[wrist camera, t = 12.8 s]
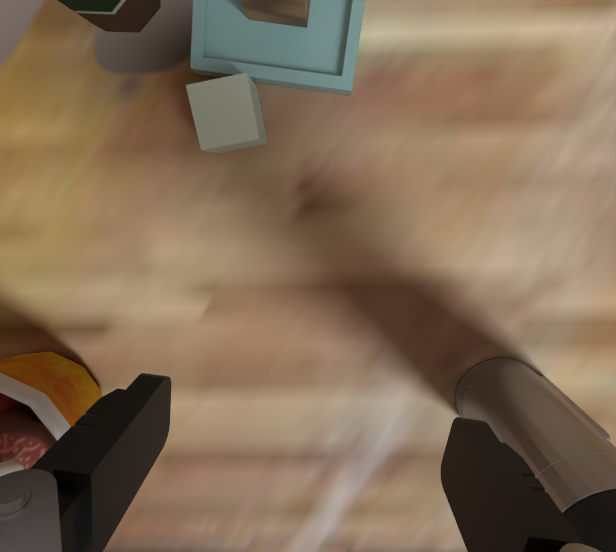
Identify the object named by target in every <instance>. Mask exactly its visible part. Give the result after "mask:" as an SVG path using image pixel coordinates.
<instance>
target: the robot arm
mask: <svg viewBox="0 0 616 552" xmlns="http://www.w3.org/2000/svg"><path fill="white" fill-rule="evenodd" d="M455 401H456V407H457V410H458V413H459V414H460V416H461V418H460V417H457V418H455V419H454V421H453V423H452V426H451V430H450V434H449V437H448V441H447V445H446V448H445V452H444V455H443V459H442V463H441V481H442V486H443V489H444V492H445V494H446V497H447V499H448V502H449V504H450V507H451V510H452V512H453V515H454V517H455V520H456V523H457V525H458V528H459V530H460V533H461V535H462V538H463V541H464V543H465V546H466V548H467V551H468V552H616V447H615V446H614V445H613V444H612V443H610V436H609V434H608V433H607V432H606V431H605V430H604V429H603V428H602V427H601V426H600V425H599V424H598V423H596V422H595V421H594V420H593V419H592V418H591V417H590V416H589V415H588V414H586V413H585V412H584V411H583V410H582V409H581V408H580V407H579V406H578V405H576V404H575V403H574V402H573V401H572V400H571V399H570V398H569V397H568V396H566V395H565V394H564V393H563V392H562V391H561V390H560V389H559V388H558V387H556V386H555V385H554V384H553V383H552V382H551V381H550V380H549V379H548V378H546V377H545V376H539V375H537V374H536V373H535V372H534V371H533V370H532V369H531V368H530V367H528V366H527V365H525V364H524V363H522V362H519V361H517V360H514V359H507V358H497V359H492V360H487V361H485V362H482V363H480V364H478V365H476V366H475V367H473V368H472V369H470V370H469V371H468V372H467V373H466V374H465V375H464V376H463V378H462V379H461V381H460V382H459V385H458V387H457V390H456V396H455ZM170 405H171V379H170V377H167V376H160V375H153V374H146V373H142V374H140V375H139V376H138V377H137V378H136V379H135V380H134V381H133V382H132V384H131V385H130V386H129V387H128V388H127V389H126V390H123V389H116V390H114V391H113V392H111V393H109V394H107V395H105V396H103V397H101V398H100V399H98V400H97V401H96V402H95V403H94V404H93V405H92V406H91V407H90V408H89V409H88V410H87V411H86V414H85V415H82V416H81V417H80V418H79V419H78V420H77V421H76V422H75V425H74V426H71V427H70V428H69V429H68V430H67V431H66V432H65V433H64V434H63V435H62V436H61V437H60V438H59V439H58V440H57V441H56V442H55V443H54V444H53V445H52V446H51V447H50V448H49V449H48V450H47V451H46V452H45V453H44V454H43V455H42V457H41V458H40V459H39V460H38V461H37V462H36V463H35V464H34V465H33V466H32V467H31V468H30V469H25V470H19V471H15V472H11V473H8V474H5V475H3V476H0V552H103V550H104V548H105V547H106V545H107V543H108V542H109V540H110V538H111V536H112V535H113V533H114V531H115V530H116V528H117V526H118V524H119V523H120V521H121V519H122V517H123V516H124V514H125V512H126V511H127V509H128V507H129V505H130V504H131V502H132V500H133V499H134V497H135V495H136V493H137V492H138V490H139V488H140V487H141V485H142V483H143V481H144V480H145V478H146V476H147V475H148V473H149V471H150V469H151V468H152V466H153V464H154V463H155V461H156V459H157V457H158V456H159V454H160V452H161V450H162V449H163V447H164V445H165V442H166V439H167V436H168V432H169V426H170Z"/></svg>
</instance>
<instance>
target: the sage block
mask: <svg viewBox="0 0 616 552" xmlns="http://www.w3.org/2000/svg"><path fill="white" fill-rule="evenodd" d="M186 89H187V93H188V97H189V101H190V106H191V110H192V114H193V118H194V123H195V127H196V131H197V136H198V140H199V144H200V148H201V150H203V151H208V152H212V153H222V152H228V151H233V150H238V149H244V148H249V147H254V146H260V145H265V144H268V141H267V136H266V131H265V126H264V120H263V115H262V110H261V104H260V99H259V94H258V89H257V86H256V85H255V83H254V82H253V81H252V79H251V78H250V77H249V75H248V74H247V73H242V74H237V75H232V76H227V77H222V78H217V79H213V80H208V81H203V82H198V83H193V84H188V85H186Z"/></svg>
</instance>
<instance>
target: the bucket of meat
mask: <svg viewBox="0 0 616 552" xmlns="http://www.w3.org/2000/svg"><path fill="white" fill-rule="evenodd" d="M101 397H102V392H101V390H100V388H99V387H98V386H97V384H96V383H95V381H94V380H93V379H92V377H91V376H90V375H89V373H88V372H87V371H86V369H85V368H84V367H83V366H81V365H79V364H77V363H75V362H73V361H71V360H69V359H67V358H65V357H62V356H60V355H58V354H56V353H54V352H52V351H49V352H39V353H30V354H20V355H15V356H12V357H9V358H6V359H3V360H0V476H3V475H5V474H8V473H11V472H15V471H19V470H25V469H30V468H31V467H32V466H33V465H34V464H35V463H36V462H37V461H38V460H39V459H40V458H41V457H42V455H43V454H44V453H45V452H46V451H47V450H48V449H49V448H50V447H51V446H52V445H53V444H54V443H55V442H56V441H57V440H58V439H59V438H60V437H61V436H62V435H63V434H64V433H65V432H66V431H67V430H68V429H69V428H70V427H71V426H74V425H75V422H76V421H77V420H78V419H79V418H80V417H81V416H82V415H85V414H86V411H87V410H88V409H89V408H90V407H91V406H92V405H93V404H94V403H95V402H96V401H97V400H98V399H100V398H101Z"/></svg>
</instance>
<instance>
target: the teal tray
mask: <svg viewBox="0 0 616 552" xmlns="http://www.w3.org/2000/svg"><path fill="white" fill-rule="evenodd" d="M364 5H365V0H310V8H309V17H308V25H307V28H304V27H297V26H290V25H283V24H276V23H268V22H261V21H254V20H249V19H248V17H247V15H246V13H245V11H244V9H243V6H242V4H241V2H240V0H193V16H192V17H193V18H192V38H191V61H190V69H191V70H193V71H194V72H195V73H196V74H198V75H204V76H211V77H218V78H222V77H227V76H232V75H237V74H242V73H247V74H248V75H249V77H250V78H251V79H252V81H253V82H255V83H262V84H269V85H277V86H284V87H291V88H298V89H306V90H313V91H320V92H327V93H335V94H342V95H349V96H350V94H351V91H352V85H353V79H354V72H355V65H356V58H357V52H358V45H359V38H360V32H361V25H362V18H363V12H364Z"/></svg>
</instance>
